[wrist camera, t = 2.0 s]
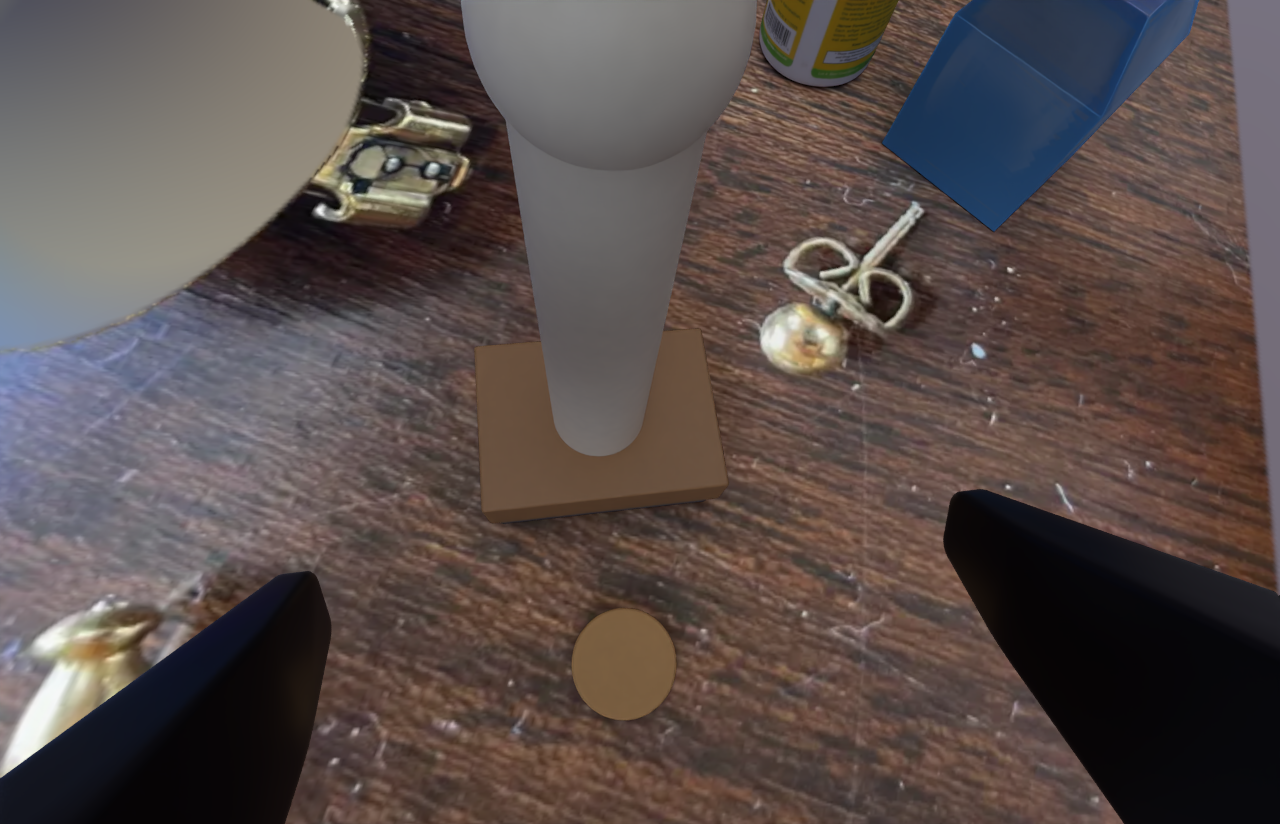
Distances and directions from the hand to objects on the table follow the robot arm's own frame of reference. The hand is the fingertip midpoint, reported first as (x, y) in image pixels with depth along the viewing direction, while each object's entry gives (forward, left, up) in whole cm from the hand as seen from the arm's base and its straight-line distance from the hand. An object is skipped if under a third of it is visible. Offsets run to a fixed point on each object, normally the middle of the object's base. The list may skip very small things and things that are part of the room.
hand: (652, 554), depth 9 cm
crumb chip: (-1, 0, -13) cm, 13 cm away
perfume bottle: (+12, -23, -13) cm, 28 cm away
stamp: (+6, -2, -13) cm, 14 cm away
